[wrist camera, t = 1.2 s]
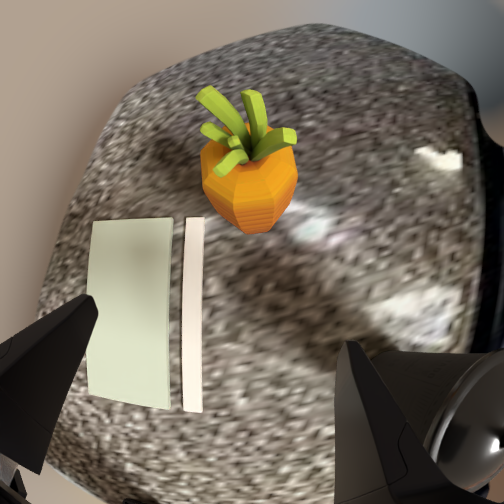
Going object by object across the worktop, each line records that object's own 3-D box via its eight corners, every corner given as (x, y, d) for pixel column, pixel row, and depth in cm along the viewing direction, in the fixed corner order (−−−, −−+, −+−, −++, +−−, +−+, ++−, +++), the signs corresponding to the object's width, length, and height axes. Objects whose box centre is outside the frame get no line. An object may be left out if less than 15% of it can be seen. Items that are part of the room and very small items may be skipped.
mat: (170, 407, 21) (168, 409, 20) (92, 392, 21) (89, 393, 21) (173, 219, 24) (171, 217, 24) (96, 223, 25) (93, 221, 24)
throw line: (202, 411, 21) (201, 412, 20) (185, 409, 21) (183, 410, 21) (205, 218, 24) (203, 217, 24) (187, 219, 24) (186, 217, 24)
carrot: (298, 234, 23) (340, 120, 9) (244, 265, 23) (204, 188, 8) (266, 185, 24) (263, 43, 10) (215, 214, 24) (150, 92, 9)
